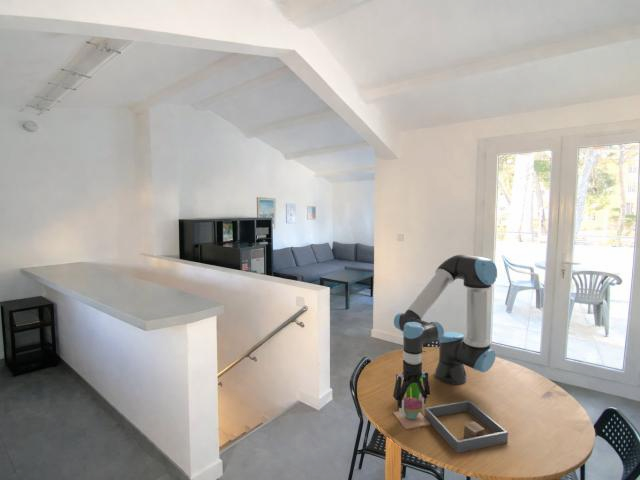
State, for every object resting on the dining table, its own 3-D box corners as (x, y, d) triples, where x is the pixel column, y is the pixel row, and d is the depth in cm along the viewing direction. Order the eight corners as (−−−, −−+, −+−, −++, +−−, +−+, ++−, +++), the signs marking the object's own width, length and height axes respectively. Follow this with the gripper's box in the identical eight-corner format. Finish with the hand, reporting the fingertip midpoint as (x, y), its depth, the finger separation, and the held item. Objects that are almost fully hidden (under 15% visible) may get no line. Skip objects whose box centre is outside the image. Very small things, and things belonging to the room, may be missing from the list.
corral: (468, 409, 149) (469, 400, 148) (507, 442, 128) (507, 432, 127) (424, 416, 143) (425, 407, 143) (457, 452, 123) (457, 442, 122)
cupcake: (398, 410, 146) (398, 383, 144) (417, 408, 146) (418, 382, 145) (405, 422, 137) (405, 394, 136) (425, 421, 138) (426, 393, 137)
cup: (423, 405, 151) (424, 382, 150) (402, 403, 153) (403, 380, 152) (422, 394, 160) (422, 372, 159) (402, 392, 162) (402, 370, 161)
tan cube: (473, 433, 133) (473, 421, 133) (484, 441, 128) (484, 428, 128) (463, 436, 131) (464, 424, 131) (474, 445, 126) (475, 432, 126)
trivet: (416, 409, 149) (416, 408, 149) (430, 425, 138) (430, 423, 138) (393, 413, 146) (393, 411, 146) (405, 429, 135) (405, 428, 135)
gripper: (430, 353, 146) (429, 403, 148) (384, 359, 140) (384, 411, 143) (440, 361, 138) (439, 413, 141) (392, 368, 133) (392, 422, 136)
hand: (411, 412), depth 142 cm, fingers open, 8 cm apart
